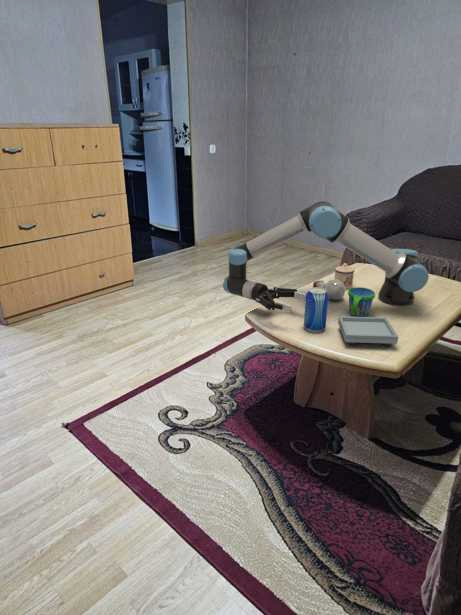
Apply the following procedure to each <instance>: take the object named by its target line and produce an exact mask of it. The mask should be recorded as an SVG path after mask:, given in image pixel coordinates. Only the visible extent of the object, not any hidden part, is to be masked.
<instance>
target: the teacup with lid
mask: <svg viewBox="0 0 461 615" xmlns="http://www.w3.org/2000/svg"><path fill="white" fill-rule="evenodd" d="M334 271H335V272H334V279H337V280H339V281H341V282H343V284H344V286H345V288H346V289H345V291H346V290H349V289H351V288H353V280H354V274H355V268H354V267H353V266H352V267H351V266H350V265H348V263H346V262H345V263H342V265H338V266H336V267H335V269H334ZM334 279H333V280H334Z"/></svg>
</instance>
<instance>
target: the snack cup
mask: <svg viewBox="0 0 461 615" xmlns="http://www.w3.org/2000/svg"><path fill="white" fill-rule="evenodd" d="M347 295H348V308H349V314H350V315H352V317H368V315H369V314H370V310H371V307H372V304H373V300H374V299H375V297H376V293H375V291H374V290H373V289H370V288H367V287H352V288H351V289H348V291H347Z"/></svg>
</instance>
